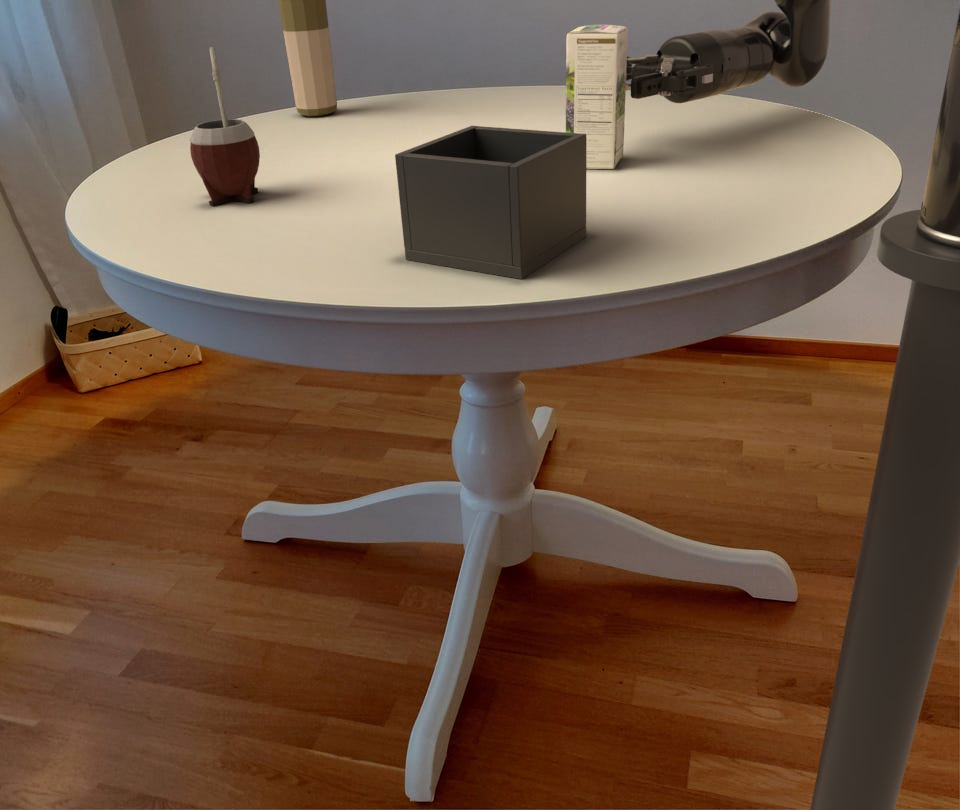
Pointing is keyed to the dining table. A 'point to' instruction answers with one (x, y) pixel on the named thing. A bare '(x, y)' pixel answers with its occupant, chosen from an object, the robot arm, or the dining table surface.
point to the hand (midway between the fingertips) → (605, 84)
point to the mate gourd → (225, 153)
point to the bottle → (309, 55)
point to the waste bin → (493, 199)
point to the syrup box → (597, 91)
